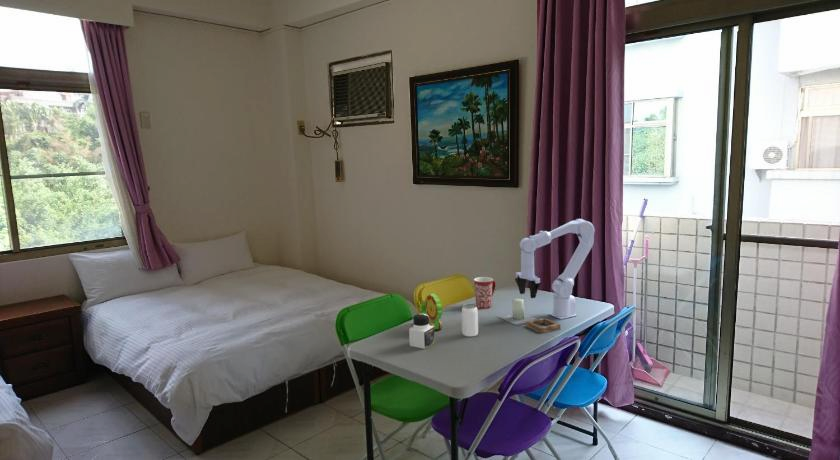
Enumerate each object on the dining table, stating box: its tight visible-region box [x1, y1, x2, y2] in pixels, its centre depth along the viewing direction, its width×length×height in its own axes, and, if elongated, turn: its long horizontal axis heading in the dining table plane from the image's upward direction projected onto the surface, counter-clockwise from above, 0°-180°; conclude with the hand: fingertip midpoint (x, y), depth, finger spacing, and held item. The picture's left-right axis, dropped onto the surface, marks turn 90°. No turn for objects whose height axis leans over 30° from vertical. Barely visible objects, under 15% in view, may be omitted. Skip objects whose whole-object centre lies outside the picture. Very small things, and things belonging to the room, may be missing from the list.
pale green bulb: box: [511, 298, 525, 320], centre depth 228 cm, size 5×5×8 cm
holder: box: [525, 317, 561, 334], centre depth 217 cm, size 10×10×2 cm
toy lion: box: [420, 293, 444, 331], centre depth 220 cm, size 16×6×15 cm, turn 27°
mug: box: [473, 276, 496, 310], centre depth 248 cm, size 13×9×14 cm
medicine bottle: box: [408, 313, 435, 350], centre depth 201 cm, size 7×7×12 cm
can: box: [461, 303, 479, 338], centre depth 211 cm, size 6×6×12 cm
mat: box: [498, 313, 537, 326], centre depth 228 cm, size 12×12×1 cm
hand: (527, 295), depth 229 cm, fingers open, 7 cm apart
